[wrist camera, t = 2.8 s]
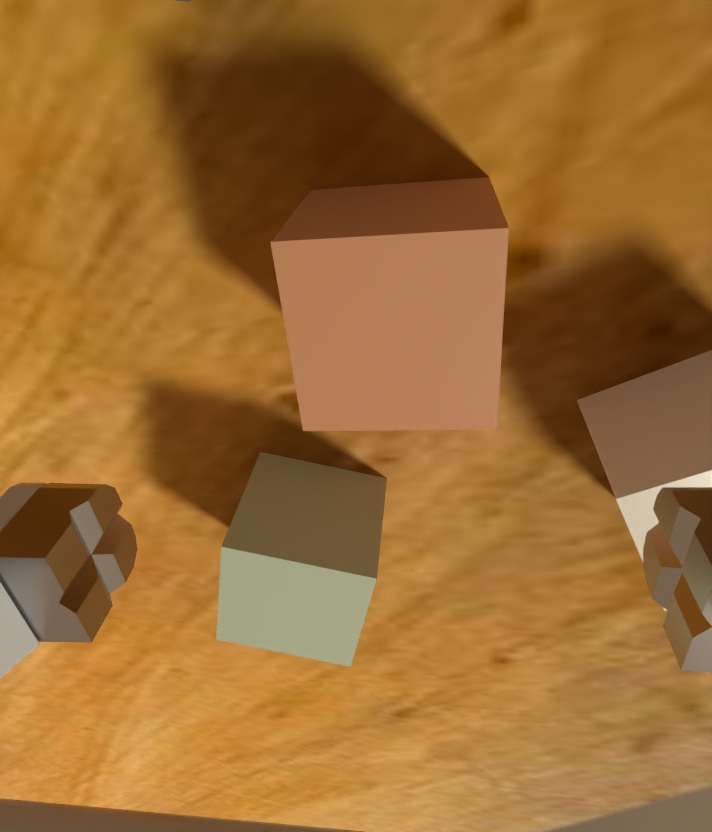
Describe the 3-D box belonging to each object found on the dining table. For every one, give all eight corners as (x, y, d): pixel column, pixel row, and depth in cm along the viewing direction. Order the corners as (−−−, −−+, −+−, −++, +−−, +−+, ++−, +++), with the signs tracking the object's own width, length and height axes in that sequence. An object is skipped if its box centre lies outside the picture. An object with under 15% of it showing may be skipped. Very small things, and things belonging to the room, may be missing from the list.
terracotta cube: (311, 189, 16) (270, 242, 12) (489, 176, 16) (508, 227, 12) (331, 345, 19) (303, 431, 15) (482, 340, 18) (496, 429, 14)
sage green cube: (260, 450, 22) (221, 546, 18) (387, 476, 22) (376, 578, 18) (252, 538, 25) (216, 639, 21) (363, 561, 25) (350, 666, 21)
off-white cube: (576, 398, 19) (615, 499, 15) (739, 338, 17) (834, 433, 13) (619, 499, 21) (664, 611, 17) (768, 455, 20) (857, 567, 15)
